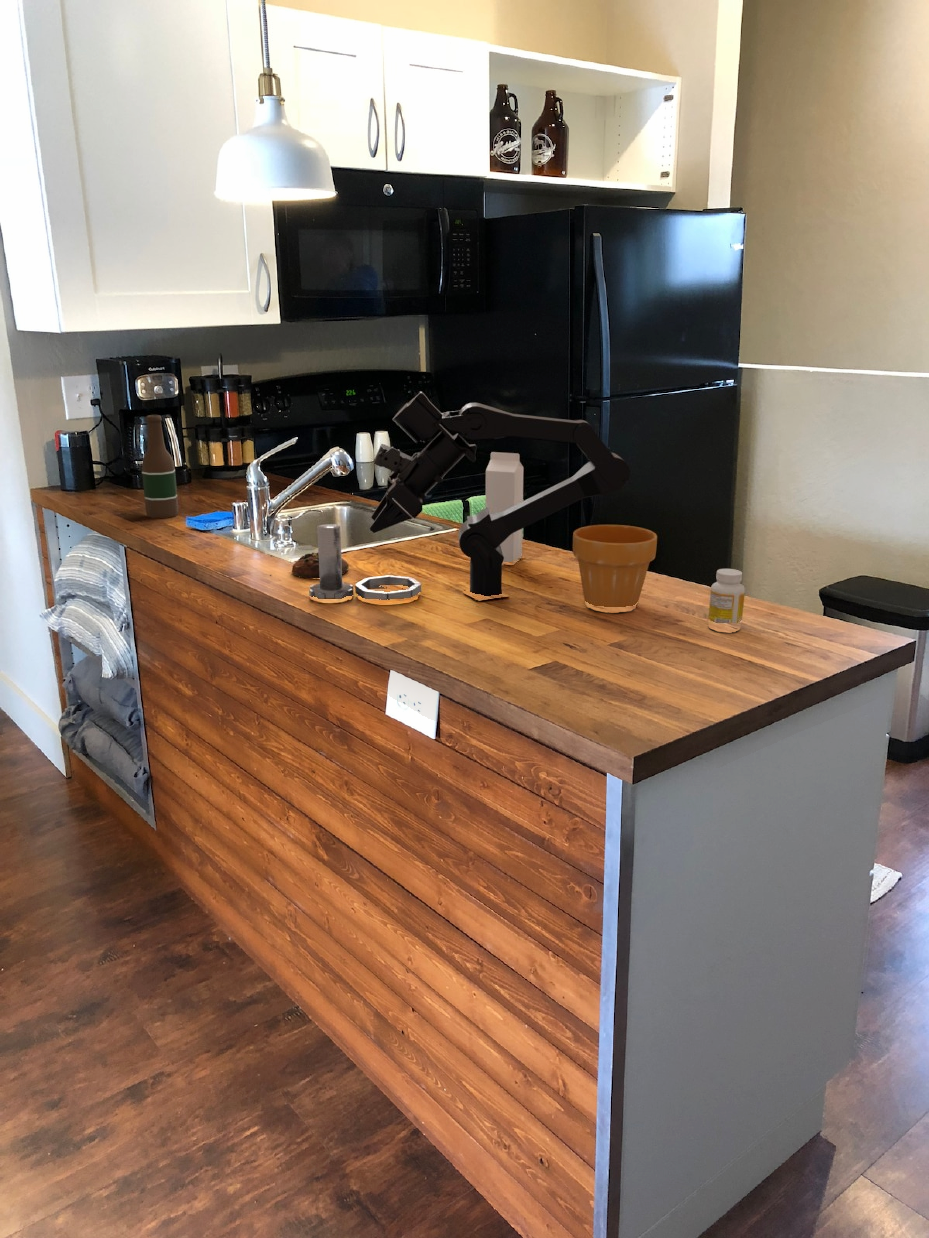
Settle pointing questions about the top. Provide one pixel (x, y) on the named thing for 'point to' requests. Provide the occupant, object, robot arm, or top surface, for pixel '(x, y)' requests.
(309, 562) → the bread roll
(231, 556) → the top surface
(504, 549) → the milk
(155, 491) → the beer bottle
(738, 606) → the supplement bottle
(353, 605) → the top surface
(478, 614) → the top surface
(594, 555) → the flower pot
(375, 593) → the grey octagonal ring
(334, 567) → the grey cylinder with base
